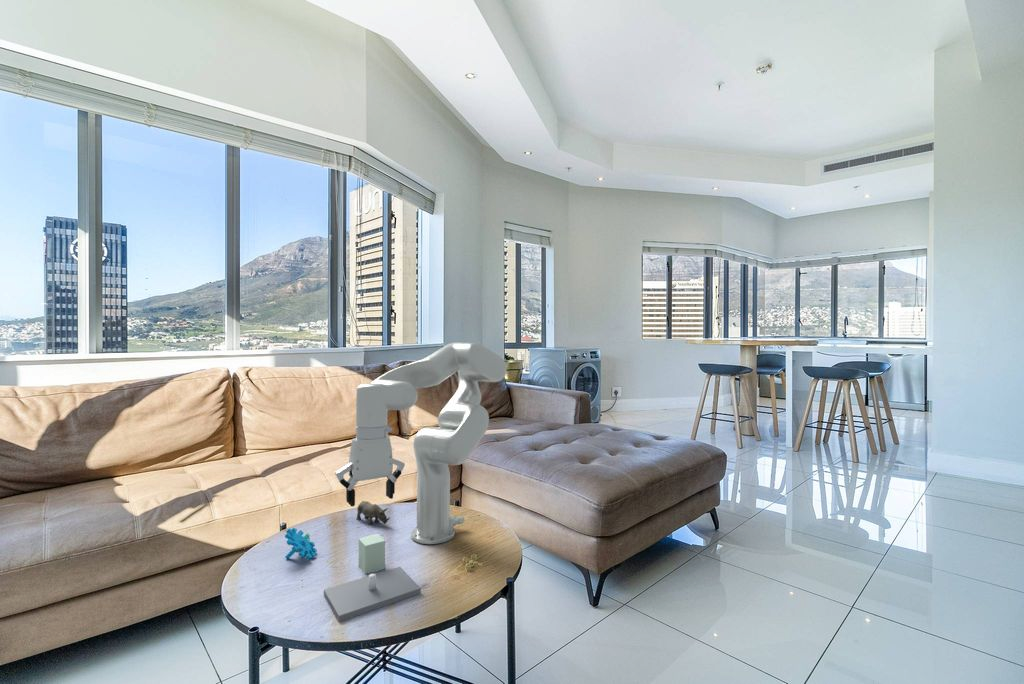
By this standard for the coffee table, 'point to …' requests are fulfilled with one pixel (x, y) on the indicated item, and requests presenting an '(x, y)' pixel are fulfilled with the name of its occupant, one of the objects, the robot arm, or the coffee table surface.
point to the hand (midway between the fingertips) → (370, 500)
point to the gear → (300, 544)
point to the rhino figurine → (371, 512)
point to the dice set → (470, 562)
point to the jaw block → (371, 553)
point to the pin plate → (370, 593)
